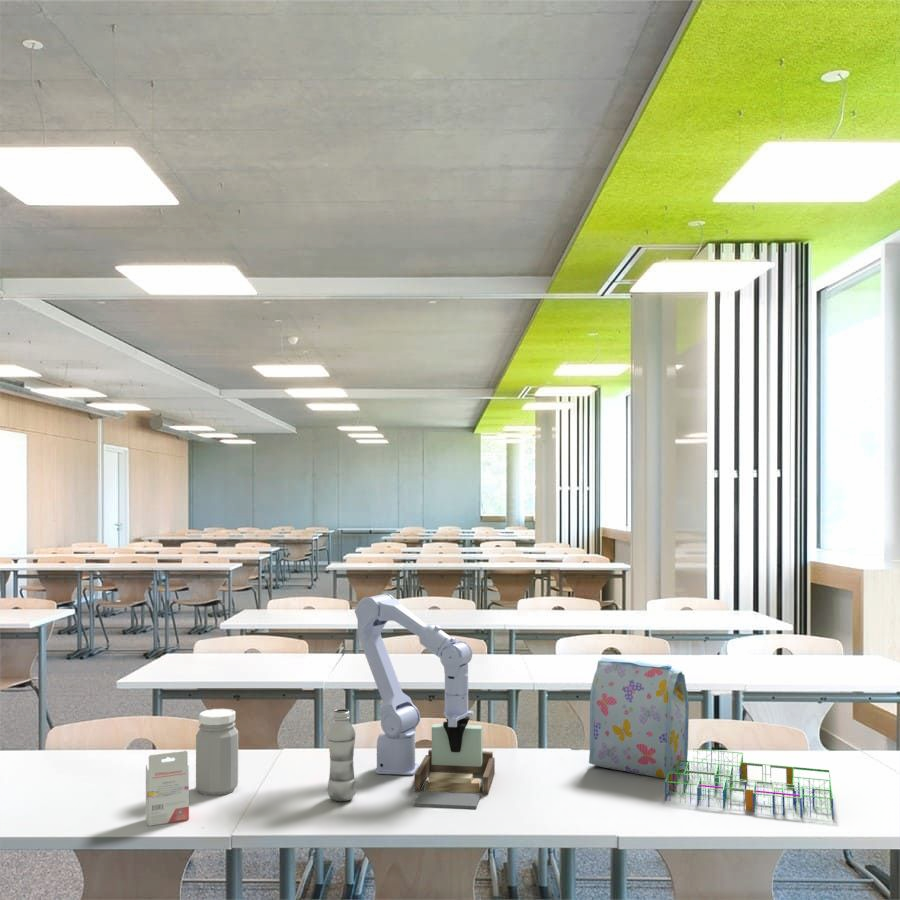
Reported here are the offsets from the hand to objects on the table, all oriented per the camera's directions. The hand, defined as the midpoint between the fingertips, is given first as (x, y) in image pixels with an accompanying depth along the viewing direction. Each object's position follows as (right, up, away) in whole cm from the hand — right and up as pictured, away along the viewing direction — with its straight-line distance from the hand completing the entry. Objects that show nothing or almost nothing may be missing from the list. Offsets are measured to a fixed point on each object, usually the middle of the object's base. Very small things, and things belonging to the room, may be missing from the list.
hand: (456, 749), depth 224 cm
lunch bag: (+47, -8, +9) cm, 48 cm away
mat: (-2, -7, -16) cm, 17 cm away
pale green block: (0, -3, 0) cm, 3 cm away
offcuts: (-1, -7, -7) cm, 10 cm away
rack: (0, -7, -1) cm, 7 cm away
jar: (-56, -8, -7) cm, 57 cm away
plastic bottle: (-26, -7, -14) cm, 31 cm away
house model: (+68, -7, -9) cm, 69 cm away
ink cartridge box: (-62, -7, -26) cm, 68 cm away
